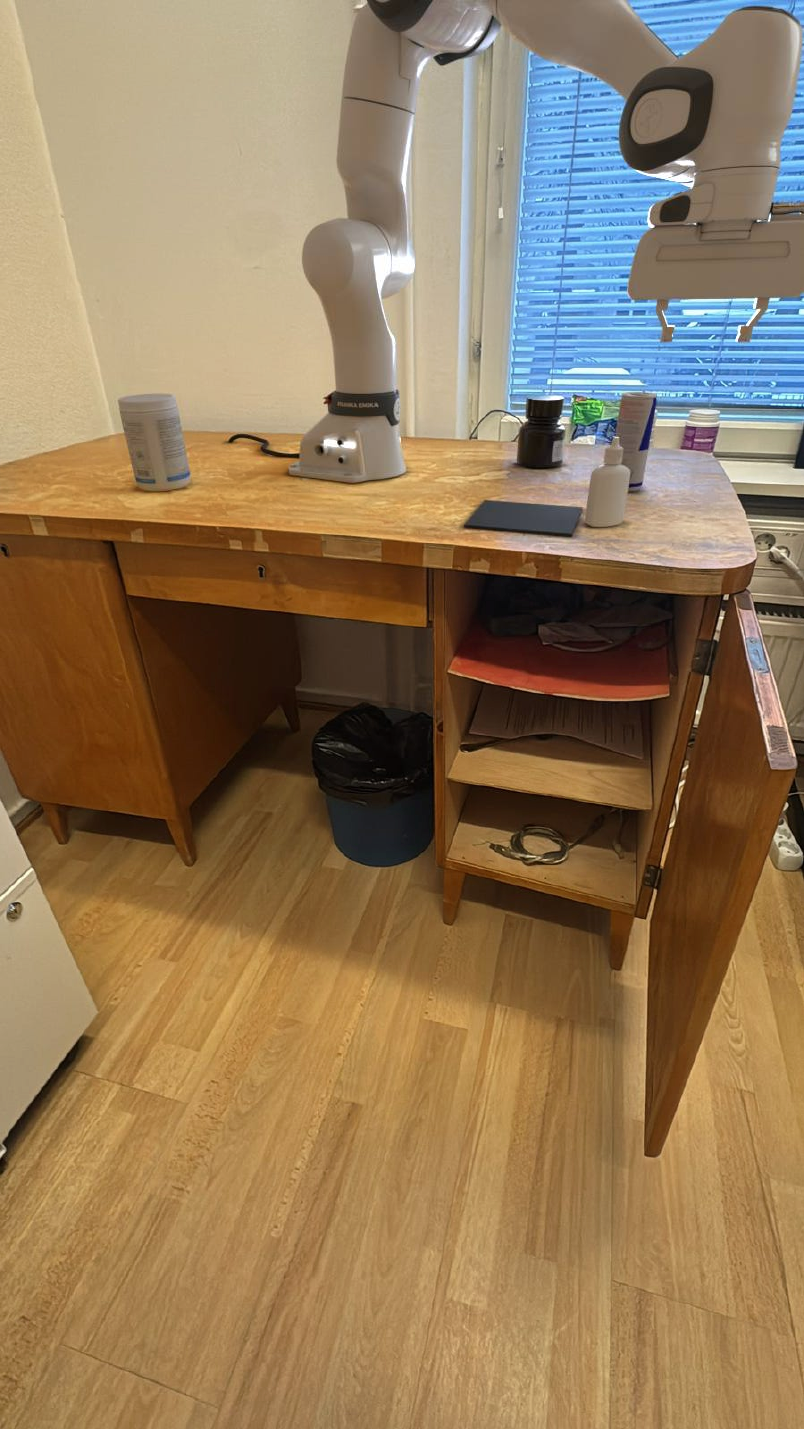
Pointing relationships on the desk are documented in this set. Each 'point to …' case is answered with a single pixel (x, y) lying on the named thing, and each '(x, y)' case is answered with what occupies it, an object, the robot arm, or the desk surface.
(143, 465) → the supplement tub
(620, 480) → the eye dropper bottle
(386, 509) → the desk surface
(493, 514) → the mat
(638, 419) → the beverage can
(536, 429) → the ink bottle
